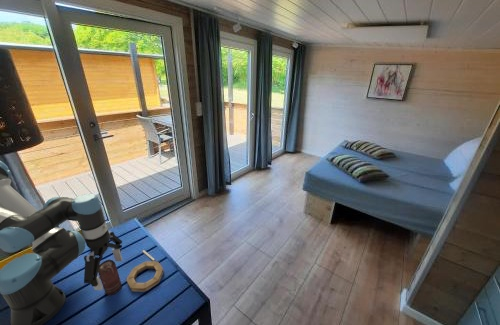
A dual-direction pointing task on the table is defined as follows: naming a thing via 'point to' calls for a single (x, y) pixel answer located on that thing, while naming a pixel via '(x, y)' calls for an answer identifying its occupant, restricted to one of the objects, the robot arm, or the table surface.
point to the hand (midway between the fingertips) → (109, 274)
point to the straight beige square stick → (148, 255)
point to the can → (109, 277)
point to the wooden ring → (149, 284)
